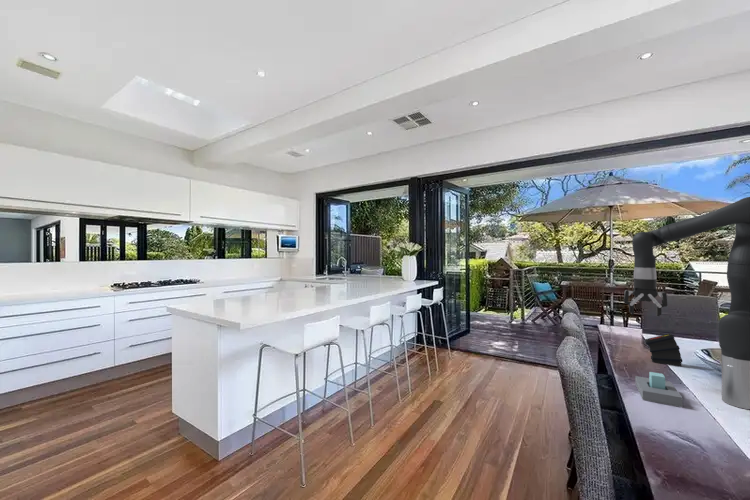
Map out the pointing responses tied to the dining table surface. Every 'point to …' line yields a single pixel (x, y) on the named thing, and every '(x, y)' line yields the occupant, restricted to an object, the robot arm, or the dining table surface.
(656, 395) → the grey slotted block
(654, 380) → the teal rectangular block
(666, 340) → the black ridged block
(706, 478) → the dining table surface
